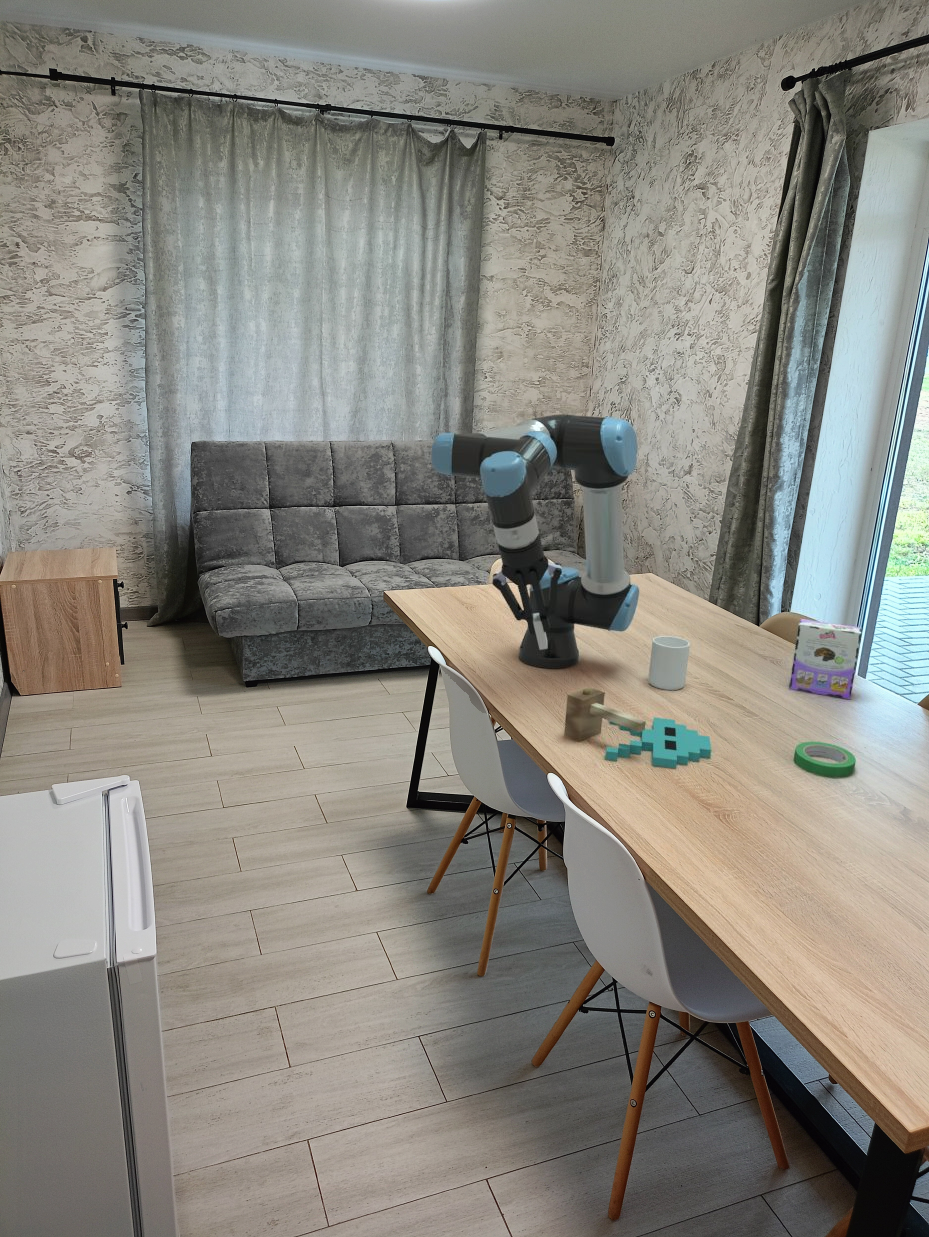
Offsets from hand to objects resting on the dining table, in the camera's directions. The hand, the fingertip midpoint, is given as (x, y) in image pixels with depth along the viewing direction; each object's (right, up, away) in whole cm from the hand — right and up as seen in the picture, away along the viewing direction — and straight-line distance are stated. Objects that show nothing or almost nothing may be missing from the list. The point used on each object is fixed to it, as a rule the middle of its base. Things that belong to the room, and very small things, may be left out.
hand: (543, 644), depth 171 cm
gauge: (+13, -20, +10) cm, 26 cm away
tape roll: (+55, -24, +5) cm, 60 cm away
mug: (+33, -10, +46) cm, 57 cm away
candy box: (+70, -13, +44) cm, 83 cm away
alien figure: (+24, -21, +11) cm, 34 cm away
